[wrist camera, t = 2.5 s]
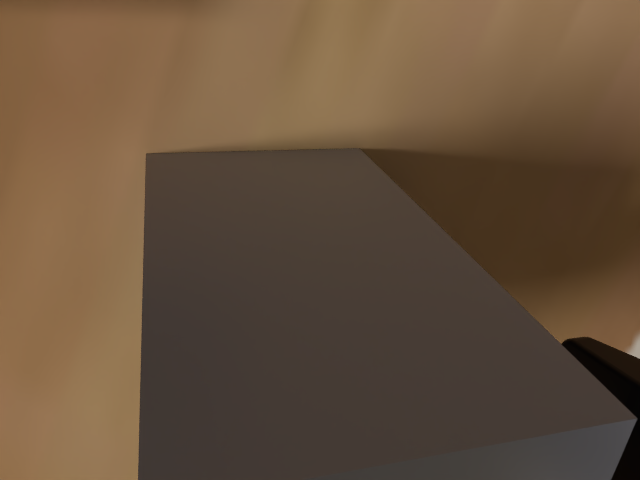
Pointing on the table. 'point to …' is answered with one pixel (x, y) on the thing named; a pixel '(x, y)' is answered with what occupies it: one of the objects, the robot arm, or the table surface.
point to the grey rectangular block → (342, 337)
